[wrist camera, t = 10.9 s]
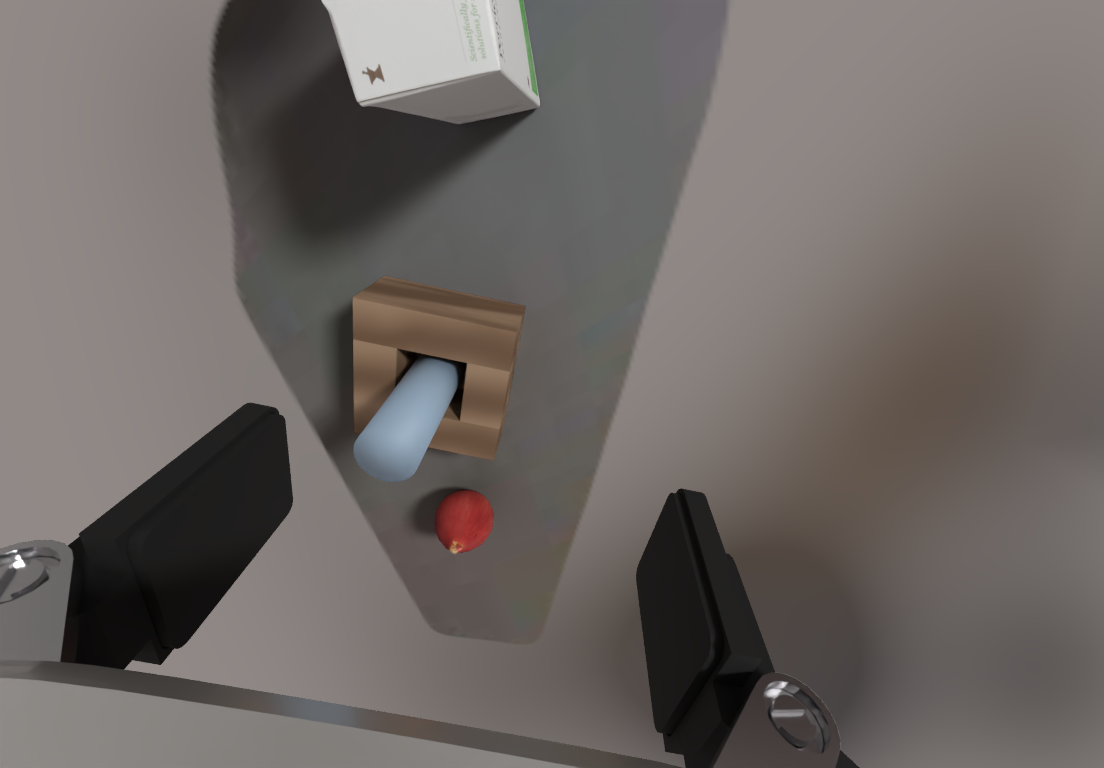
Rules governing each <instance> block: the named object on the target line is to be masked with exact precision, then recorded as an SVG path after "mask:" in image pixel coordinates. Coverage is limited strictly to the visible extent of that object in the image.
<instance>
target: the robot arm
mask: <svg viewBox="0 0 1104 768" xmlns="http://www.w3.org/2000/svg"><path fill="white" fill-rule="evenodd" d="M292 503H293V495H292V485H291V474H290V464H289V454H288V444H287V434H286V424H285V418H284V417H283V416H282V415H279V411H278V410H277V409H276V408H274V407H269V406H265V405H260V404H255V403H247V404H245V405H243V406H242V407H241V408H239V409H238V410H237V411H236V412H234V413H233V414H232V415H231V416H229V417H228V418H227V419H225V420H224V421H223V422H221V423H220V424H219V425H218V426H216V427H215V428H214V429H213V430H211V431H210V432H209V433H207V434H206V435H205V436H204V437H202V438H201V439H200V440H198V441H197V442H196V443H195V444H193V445H192V446H191V447H189V448H188V449H187V450H186V451H184V452H183V453H182V454H181V455H179V456H178V457H177V458H175V459H174V460H173V461H171V462H170V463H169V464H168V465H166V466H165V467H164V468H162V469H161V470H160V471H159V472H157V473H156V474H155V475H153V476H152V477H151V478H150V479H148V480H147V481H146V482H145V483H143V484H142V485H141V486H139V487H138V488H137V489H136V490H134V491H133V492H132V493H131V494H129V495H128V496H127V497H125V498H124V499H123V500H121V501H120V502H119V503H118V504H116V505H115V506H114V507H113V508H111V509H110V510H109V511H107V512H106V513H105V514H104V515H102V516H101V517H100V518H98V519H97V520H96V521H95V522H93V523H92V524H91V525H89V526H88V527H87V528H86V529H84V530H83V531H82V532H80V533H79V535H80V537H78V538H77V539H76V540H75V541H73V542H72V543H71V544H69V545H68V546H67V545H66V544H64V543H61V542H57V541H54V540H34V541H29V542H23V543H17V544H14V545H11V546H8V547H4V548H1V549H0V768H681V767H677V766H674V765H669V764H666V763H662V762H657V761H652V760H647V759H642V758H637V757H632V756H626V755H621V754H617V753H611V752H606V751H601V750H596V749H591V748H586V747H581V746H575V745H569V744H564V743H558V742H552V741H547V740H541V739H535V738H530V737H524V736H518V735H513V734H507V733H501V732H496V731H490V730H484V729H479V728H473V727H467V726H462V725H456V724H450V723H444V722H438V721H433V720H427V719H421V718H415V717H410V716H404V715H398V714H392V713H386V712H380V711H375V710H368V709H363V708H357V707H351V706H345V705H339V704H333V703H327V702H322V701H316V700H310V699H304V698H298V697H292V696H286V695H280V694H274V693H268V692H262V691H255V690H249V689H243V688H237V687H232V686H225V685H219V684H213V683H207V682H201V681H195V680H189V679H183V678H177V677H170V676H163V675H156V674H150V673H143V672H136V671H129V670H124V669H125V668H126V666H127V665H128V664H129V663H130V662H131V661H132V660H135V661H141V662H147V663H152V664H158V665H161V664H162V663H163V662H164V660H165V659H166V658H167V656H168V655H169V654H170V653H171V652H172V650H173V649H174V648H176V649H178V648H180V647H182V646H183V645H185V644H186V643H187V642H188V640H189V639H190V638H191V637H192V636H193V634H194V633H195V632H196V630H197V629H198V628H199V626H200V625H201V624H202V623H203V621H204V620H205V619H206V618H207V616H208V615H209V614H210V613H211V611H212V610H213V609H214V607H215V606H216V605H217V604H218V603H219V601H220V600H221V599H222V597H223V596H224V595H225V594H226V592H227V591H228V590H229V589H230V587H231V586H232V585H233V583H234V582H235V581H236V580H237V578H238V577H239V576H240V575H241V573H242V572H243V571H244V570H245V568H246V567H247V566H248V564H249V563H250V562H251V561H252V559H253V558H254V557H255V556H256V554H257V553H258V552H259V550H260V549H261V548H262V547H263V545H264V544H265V543H266V542H267V540H268V539H269V538H270V536H271V535H272V534H273V532H274V531H275V530H276V529H277V528H278V526H279V525H280V524H281V522H282V521H283V520H284V519H285V517H286V516H287V515H288V513H289V511H290V509H291V507H292ZM636 581H637V589H638V598H639V606H640V614H641V622H642V630H643V637H644V646H645V654H646V662H647V670H648V678H649V686H650V694H651V702H652V710H653V718H654V724H655V728H656V730H657V732H659V733H663V738H664V745H665V751H666V752H670V753H676V754H682V755H684V760H685V766H686V768H859V767H858V766H857V765H856V764H855V763H854V762H853V761H852V760H850V759H849V758H848V757H847V756H846V755H845V754H844V753H843V752H842V751H841V750H840V741H841V740H840V736H839V732H838V728H837V725H836V723H835V721H834V719H833V717H832V715H831V713H830V711H829V710H828V708H827V707H826V706H825V704H824V703H823V702H822V700H821V699H820V698H819V697H818V696H817V695H816V694H815V693H814V692H813V691H812V690H811V689H810V688H809V687H808V686H806V685H805V684H803V683H802V682H800V681H799V680H797V679H796V678H794V677H791V676H788V675H786V674H783V673H775V671H774V668H773V665H772V663H771V660H770V657H769V654H768V652H767V649H766V646H765V643H764V641H763V638H762V635H761V632H760V630H759V627H758V624H757V621H756V619H755V616H754V614H753V610H752V608H751V605H750V602H749V600H748V597H747V594H746V591H745V589H744V586H743V583H742V580H741V578H740V575H739V572H738V570H737V567H736V564H735V562H734V560H733V558H732V557H731V556H730V555H729V554H726V553H725V550H724V547H723V544H722V541H721V538H720V536H719V533H718V530H717V527H716V524H715V521H714V518H713V516H712V513H711V510H710V507H709V505H708V501H707V499H706V496H705V494H703V493H701V492H696V491H691V490H686V489H679V490H678V491H677V492H676V494H675V493H670V494H669V496H668V498H667V500H666V502H665V505H664V507H663V509H662V512H661V514H660V516H659V519H658V521H657V523H656V525H655V528H654V530H653V532H652V535H651V537H650V539H649V541H648V544H647V546H646V548H645V551H644V553H643V555H642V558H641V560H640V562H639V565H638V568H637V574H636Z"/></svg>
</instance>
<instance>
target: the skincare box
mask: <svg viewBox="0 0 1104 768" xmlns="http://www.w3.org/2000/svg"><path fill="white" fill-rule="evenodd" d="M321 1H322V3H323V4H324V6H325V7H326V9H327V10H328V12H329V15H330V19H331V22H332V25H333V28H334V32H335V35H336V38H337V41H338V44H339V48H340V51H341V54H342V57H343V60H344V63H345V66H346V70H347V73H348V76H349V79H350V82H351V85H352V88H353V91H354V94H355V97H356V100H357V102H358V103H359V104H360V105H361V106H362V107H366V106H374V107H380V108H386V109H390V110H395V111H399V112H404V113H409V114H414V115H418V116H423V117H428V118H432V119H437V120H442V121H446V122H450V123H455V124H463V123H468V122H473V121H478V120H484V119H489V118H493V117H498V116H503V115H508V114H512V113H517V112H521V111H526V110H530V109H535V108H538V107H539V106H540V100H539V94H538V88H537V81H536V75H535V68H534V62H533V56H532V50H531V44H530V38H529V32H528V26H527V20H526V14H525V8H524V2H523V0H321Z"/></svg>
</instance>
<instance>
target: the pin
mask: <svg viewBox="0 0 1104 768" xmlns="http://www.w3.org/2000/svg"><path fill="white" fill-rule="evenodd" d="M466 369H467V363H465V362H460V361H455V360H450V359H445V358H441V357H436V356H431V355H426V354H420V356H419V357H418V358H417V360H416V361H415V362H414V364H413V365H412V366H411V368H410V369H409V370H408V372H407V373H406V374H405V376H404V377H403V378H402V380H401V381H400V382H399V384H398V385H397V386H396V388H395V389H394V390H393V392H392V393H391V394H390V396H389V397H388V398H387V400H386V401H385V402H384V404H383V405H382V406H381V408H380V409H379V410H378V412H377V413H376V414H375V416H374V417H373V418H372V420H371V421H370V422H369V424H368V425H367V426H366V428H365V429H364V430H363V432H362V433H361V434H360V436H359V437H358V438H357V440H356V441H355V444H354V449H353V451H354V457H355V459H356V461H357V463H358V464H359V466H360V467H361V468H362V469H363V470H364V471H365V472H366V473H368V474H369V475H371V476H372V477H374V478H376V479H379V480H382V481H387V482H399V481H403V480H406V479H408V478H410V477H411V476H412V475H413V474H414V473H415V472H416V470H417V468H418V466H419V464H420V462H421V460H422V458H423V456H424V454H425V452H426V450H427V448H428V446H429V444H430V442H431V440H432V438H433V436H434V434H435V432H436V430H437V428H438V426H439V424H440V422H441V420H442V418H443V416H444V414H445V412H446V410H447V408H448V406H449V404H450V402H451V400H452V398H453V396H454V394H455V392H456V390H457V388H458V386H459V384H460V382H461V380H462V378H463V376H464V374H465V372H466Z"/></svg>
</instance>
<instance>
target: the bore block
mask: <svg viewBox="0 0 1104 768" xmlns="http://www.w3.org/2000/svg"><path fill="white" fill-rule="evenodd" d="M525 308H526V306H523V305H518V304H513V303H509V302H504V301H499V300H495V299H490V298H485V297H481V296H476V295H471V294H467V293H462V292H457V291H453V290H448V289H444V288H439V287H434V286H430V285H425V284H420V283H416V282H411V281H406V280H402V279H397V278H392V277H388V276H384V277H382V278H381V279H379V280H378V281H377V282H375V283H374V284H372V285H371V286H369V287H368V288H366V289H365V290H363V291H362V292H360V293H359V294H357V295H356V296H355V297H353V376H354V433H359V434H361V433H362V432H363V430H364V429H365V428H366V426H367V425H368V424H369V422H370V421H371V420H372V418H373V417H374V416H375V414H376V413H377V412H378V410H379V409H380V408H381V406H382V405H383V404H384V402H385V401H386V400H387V398H388V397H389V396H390V394H391V393H392V392H393V390H394V389H395V388H396V386H397V385H398V384H399V382H400V381H401V380H402V378H403V377H404V376H405V374H406V373H407V372H408V370H409V369H410V368H411V366H412V365H413V364H414V362H415V361H416V360H417V358H418V357H419V356H420V354H426V355H431V356H436V357H441V358H445V359H450V360H455V361H460V362H465V363H467V369H466V372H465V374H464V376H463V378H462V380H461V382H460V384H459V386H458V388H457V390H456V392H455V394H454V396H453V398H452V400H451V402H450V404H449V406H448V408H447V410H446V412H445V414H444V416H443V418H442V420H441V422H440V424H439V426H438V428H437V430H436V432H435V434H434V436H433V438H432V440H431V442H430V444H429V446H428V447H429V448H434V449H439V450H444V451H449V452H454V453H459V454H464V455H469V456H474V457H479V458H484V459H490V460H494V459H495V455H496V451H497V448H498V444H499V440H500V437H501V433H502V429H503V426H504V422H505V417H506V411H507V406H508V400H509V395H510V389H511V384H512V379H513V373H514V368H515V362H516V357H517V351H518V346H519V340H520V335H521V329H522V324H523V319H524V313H525Z"/></svg>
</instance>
